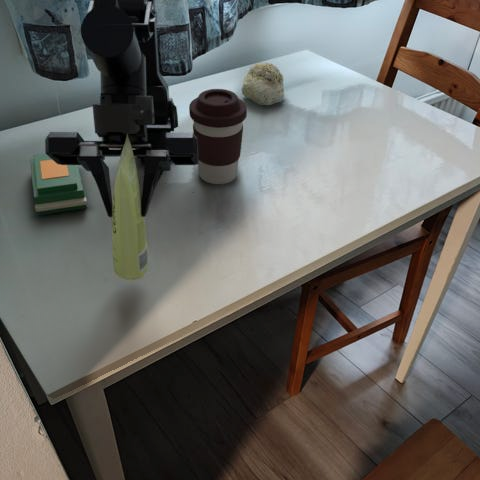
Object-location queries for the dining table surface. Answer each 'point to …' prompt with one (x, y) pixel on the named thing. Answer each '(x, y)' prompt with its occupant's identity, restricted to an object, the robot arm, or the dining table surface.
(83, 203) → the stack of green books
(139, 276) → the tube
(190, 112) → the coffee cup
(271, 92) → the decorative item
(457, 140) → the dining table surface
